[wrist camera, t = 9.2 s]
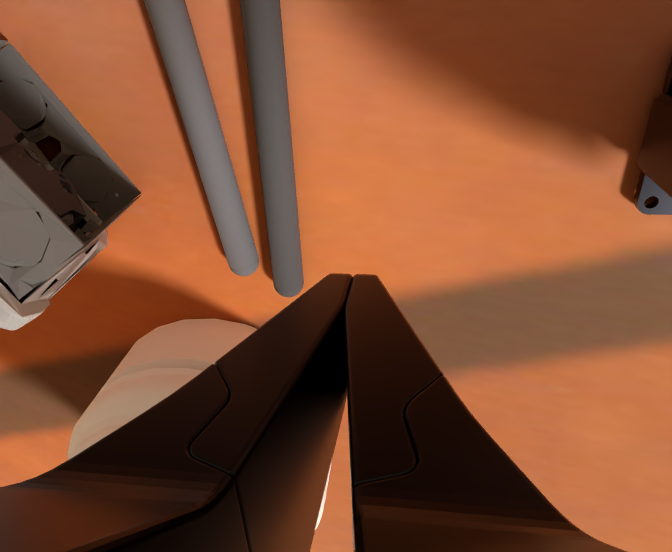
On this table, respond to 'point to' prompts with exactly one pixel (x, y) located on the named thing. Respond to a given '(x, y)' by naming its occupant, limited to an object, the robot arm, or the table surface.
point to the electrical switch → (48, 194)
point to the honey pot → (157, 375)
